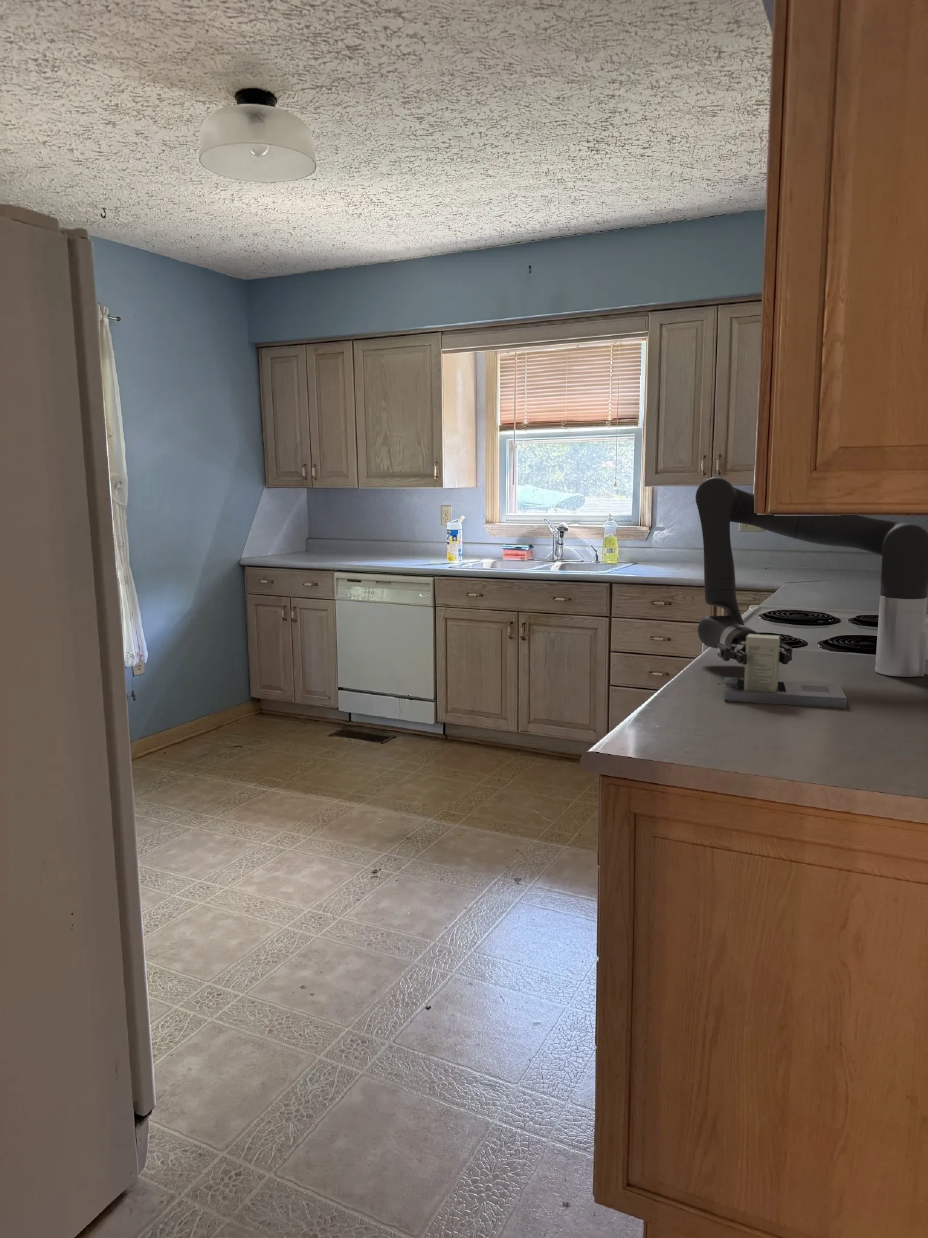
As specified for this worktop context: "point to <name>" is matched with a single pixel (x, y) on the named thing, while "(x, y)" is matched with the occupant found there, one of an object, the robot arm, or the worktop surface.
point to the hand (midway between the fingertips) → (765, 659)
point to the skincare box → (762, 662)
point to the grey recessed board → (788, 693)
